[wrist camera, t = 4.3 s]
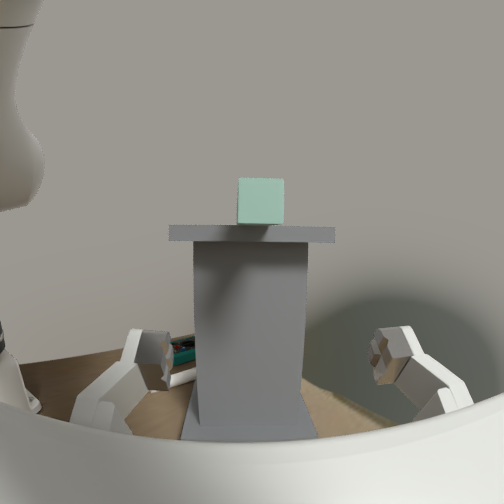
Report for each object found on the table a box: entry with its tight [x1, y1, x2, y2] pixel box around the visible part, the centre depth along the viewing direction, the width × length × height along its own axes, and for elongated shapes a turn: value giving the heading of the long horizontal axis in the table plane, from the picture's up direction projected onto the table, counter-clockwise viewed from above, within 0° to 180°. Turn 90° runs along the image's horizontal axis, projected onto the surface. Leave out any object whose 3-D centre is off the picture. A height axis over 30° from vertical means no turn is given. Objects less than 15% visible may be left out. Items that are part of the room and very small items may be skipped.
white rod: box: [148, 368, 197, 393], centre depth 51 cm, size 18×2×2 cm, turn 136°
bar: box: [237, 178, 284, 226], centre depth 32 cm, size 23×3×3 cm, turn 3°
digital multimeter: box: [170, 336, 196, 366], centre depth 63 cm, size 7×15×3 cm, turn 139°
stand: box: [169, 225, 335, 443], centre depth 39 cm, size 16×16×26 cm
